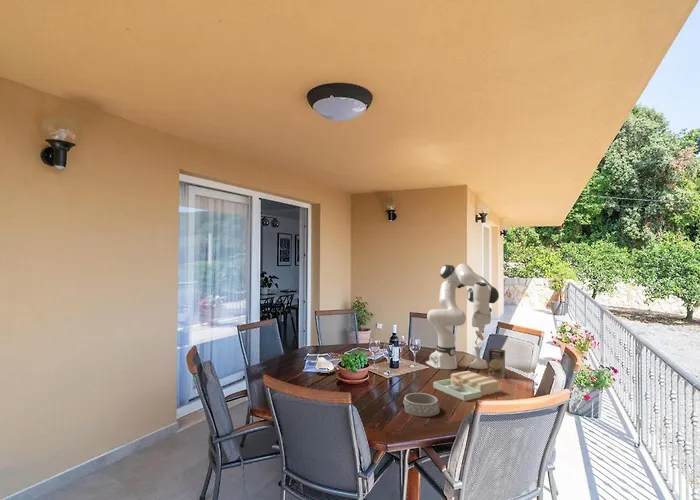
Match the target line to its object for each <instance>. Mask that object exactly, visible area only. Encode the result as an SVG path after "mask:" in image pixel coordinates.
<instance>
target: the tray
mask: <svg viewBox="0 0 700 500" xmlns="http://www.w3.org/2000/svg"><path fill="white" fill-rule="evenodd" d="M451 385H454V384H453V382H452V380H451V378H446V379H443V380H442V379H441V380H437V381H432V388H434V389H436V390H438V391H441V392H442V393H445V394H448V395H449V396H452V397H454V398H457V399H459V400H461V401H463V402H466V401H470V400H476V399H479V398H482V397H483V396H482V391H480V390H478V389H475V388H472V387H470V386H467V385H464V384H462V386H463V389H462V391H460V392H457V391H455V390H452V389H450V388H448V386H451Z"/></svg>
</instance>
